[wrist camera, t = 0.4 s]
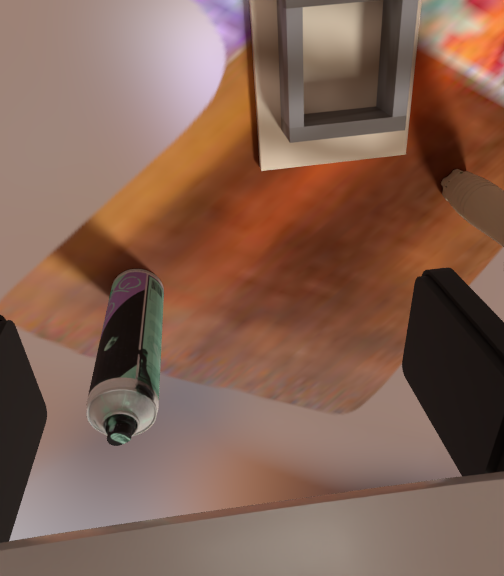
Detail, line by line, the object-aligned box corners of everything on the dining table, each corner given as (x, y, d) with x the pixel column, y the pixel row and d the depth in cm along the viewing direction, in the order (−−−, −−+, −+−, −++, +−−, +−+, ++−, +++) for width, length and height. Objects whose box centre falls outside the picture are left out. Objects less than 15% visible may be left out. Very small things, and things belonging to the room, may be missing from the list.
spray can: (120, 261, 50) (91, 405, 33) (171, 277, 51) (167, 422, 35) (105, 302, 52) (70, 456, 35) (154, 316, 54) (142, 469, 37)
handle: (489, 157, 49) (596, 220, 36) (460, 215, 52) (549, 291, 39) (447, 147, 47) (543, 209, 35) (420, 207, 51) (499, 283, 38)
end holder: (244, -66, 36) (253, -71, 32) (424, -80, 37) (455, -88, 33) (259, 167, 46) (267, 186, 42) (401, 151, 47) (423, 168, 43)
